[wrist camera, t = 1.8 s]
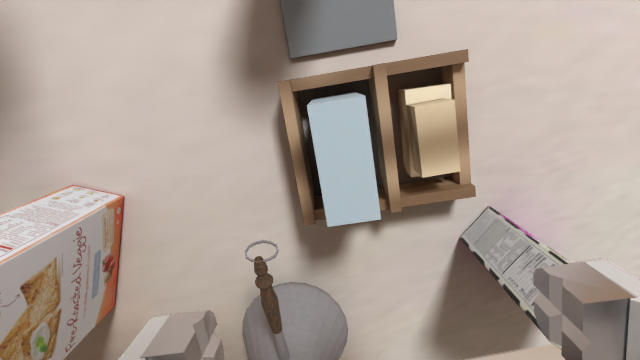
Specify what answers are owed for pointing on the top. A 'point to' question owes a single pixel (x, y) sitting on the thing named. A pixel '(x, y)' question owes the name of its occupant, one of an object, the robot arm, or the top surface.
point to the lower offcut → (407, 98)
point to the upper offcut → (434, 137)
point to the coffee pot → (292, 320)
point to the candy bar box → (510, 256)
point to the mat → (336, 24)
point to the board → (344, 158)
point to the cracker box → (57, 271)
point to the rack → (383, 134)
